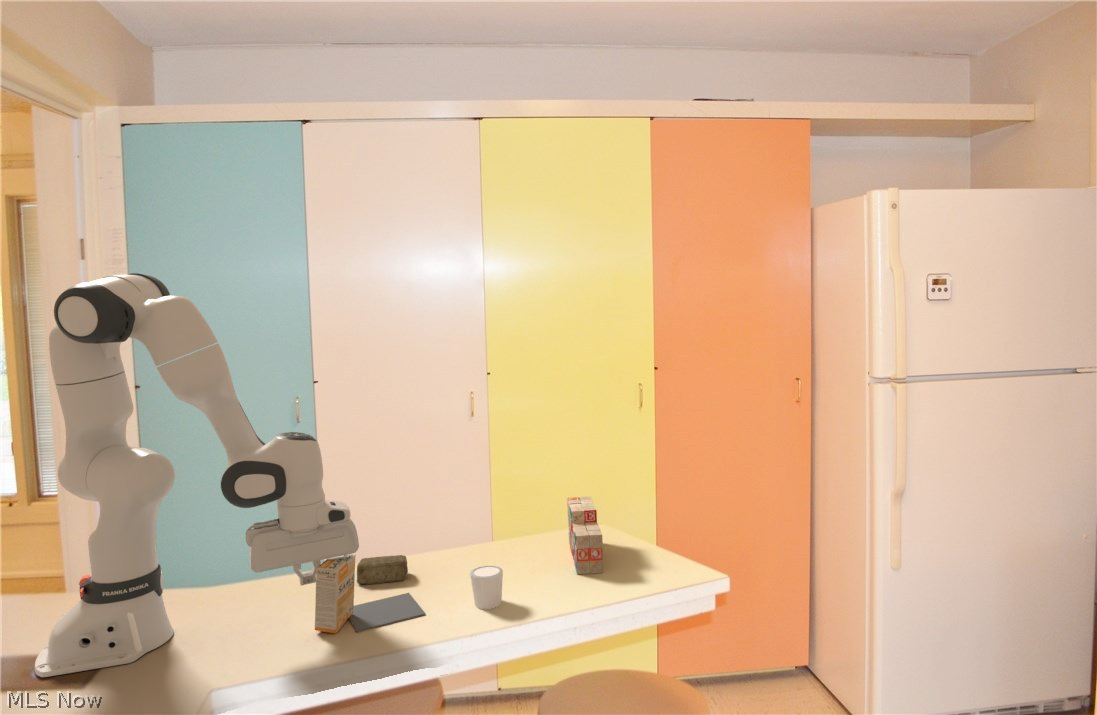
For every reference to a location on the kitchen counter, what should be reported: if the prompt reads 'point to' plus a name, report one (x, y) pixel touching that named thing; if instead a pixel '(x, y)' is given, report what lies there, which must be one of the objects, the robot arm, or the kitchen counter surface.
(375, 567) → the stone block
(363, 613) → the mat
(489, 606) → the white cup
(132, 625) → the robot arm
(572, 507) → the stack of blocks
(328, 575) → the supplement box
